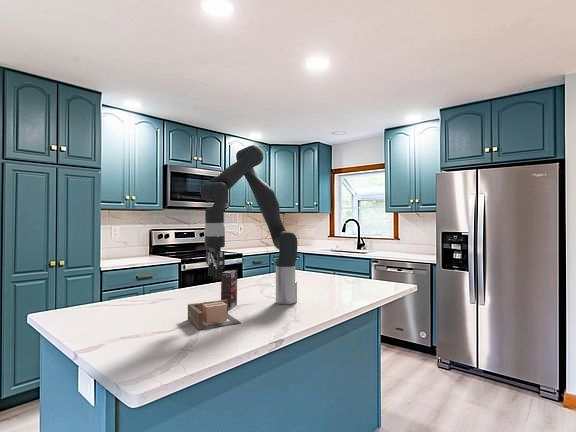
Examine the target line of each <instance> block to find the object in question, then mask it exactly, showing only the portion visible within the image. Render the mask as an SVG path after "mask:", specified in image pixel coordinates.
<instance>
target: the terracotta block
mask: <svg viewBox="0 0 576 432" xmlns="http://www.w3.org/2000/svg"><path fill="white" fill-rule="evenodd" d="M225 320H227V304H225V303H224V302H217V303H209V304H203V321H204V322H205V323H213V322H219V321H225Z"/></svg>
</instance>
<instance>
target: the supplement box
mask: <svg viewBox="0 0 576 432" xmlns="http://www.w3.org/2000/svg"><path fill="white" fill-rule="evenodd" d="M220 280H221V281H220V283H221V284H220V300H228V311H229V310H232V309H233V308H235V307H236V306H237V305H238V270H231V269H230V270H226V271H224V272H223V271H222V279H220Z"/></svg>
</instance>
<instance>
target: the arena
mask: <svg viewBox="0 0 576 432" xmlns="http://www.w3.org/2000/svg"><path fill="white" fill-rule="evenodd" d="M217 302H224V303H225V304H227V320H225V321H219V322H213V323H205V322H204V321H203V304H209V303H217ZM187 321H188V322H189V323H190V324H192V325H193V327H195V328H196V329H197V330H198V331H202V330H210V329H215V328H222V327H226V326H227V327H228V326H233V325H240V324H241V322H242V321H239V319H237V318H235V317H234V316H232V315H231V314H229V310H228V300H221V299H219V300H212V301H206V302H205V301H204V302H196V303H188V304H187Z"/></svg>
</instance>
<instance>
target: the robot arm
mask: <svg viewBox="0 0 576 432" xmlns="http://www.w3.org/2000/svg"><path fill="white" fill-rule="evenodd" d="M235 160H236V162H234V163H232V164H230V165H229V166H227V167H226V168H225V169H223V170H222V172H221V173H219V174H218V175H216V176H214V177H213V178H210V179H209V180H207V181H206V182H205V183H203V185H201V188H200V191H199V192H200V196H201V198H202V199H203V200H204V201H207V202H214V203H213V205H212V206H210V207H208V208H206V209H205V213H204V221H205V222H204V247H205V248H206V250H205V253H206V255H205V264H206V266H207V267H208V268H207V269H208V270H207V271H208V273H207V274H208V276H209V277H212V276H215V279H216V280H221V279H222V273H223V269H224V268H225V267H226V263H225V251H221V250H222V249H221V248H225V247H226V246H225V245H226V233H225V231H226V229H225V210H226V206H227V203H228V202H227V201H228V198H229V190H231V188H232V187H234V186H235V185H236V184H237V183H238V182H239V181H240V180H241V179H242V178H243V176H244V178H245V180H246V182H247V183H248V185H249V188H250V190H251V192H252V194H253V197H254V199H255V201H256V203H257V206H258V208H259V210H260V212H261V214H262V215H261V216H262V217H263V219H264V221H265V223H266V226H267V228H268V231H269V234H270V236H271V240H272V243H273V245H274V247H275V248H276V249H277V250H278V251H279V252H278V253H279V254H278V258H276V259H275V303H276V304H277V305H279V304H280V305H292V304H295V303H298V282H297V281H296V262H297V259H298V238H297V236H296V234H295V233H294V232H291V231H287V230H286V228H285V225H284V224H283V222H282V219H281V214H280V213H281V212H280V211H281V209H280V204H279V201H278V198H277V196H276V194H275V191H274V189H273V188H272V187H271V186H270V185H268V183H266V182H265V181H264V180H262V179H261V178H260V177H259V176H258V174H257V173H256V171H255V167H257V166H259V165H260V164H261V163H263V161H264V153H263V150H262V149H261V148H260V146H259V145H257V144H256V145H255V144H254V145H253V144H252V145H248V146H246V147H244V148H242V149H240V150H238V151H237V152H236V154H235Z"/></svg>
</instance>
